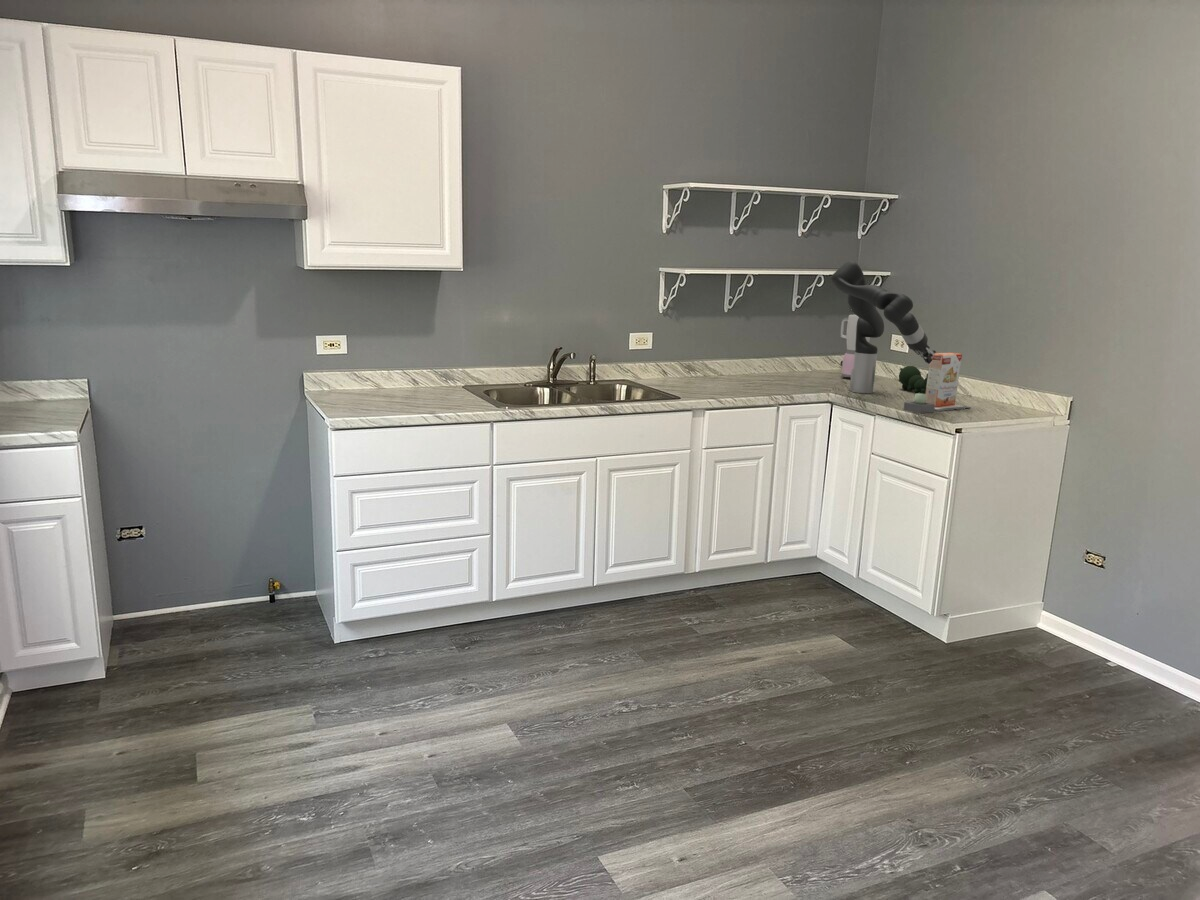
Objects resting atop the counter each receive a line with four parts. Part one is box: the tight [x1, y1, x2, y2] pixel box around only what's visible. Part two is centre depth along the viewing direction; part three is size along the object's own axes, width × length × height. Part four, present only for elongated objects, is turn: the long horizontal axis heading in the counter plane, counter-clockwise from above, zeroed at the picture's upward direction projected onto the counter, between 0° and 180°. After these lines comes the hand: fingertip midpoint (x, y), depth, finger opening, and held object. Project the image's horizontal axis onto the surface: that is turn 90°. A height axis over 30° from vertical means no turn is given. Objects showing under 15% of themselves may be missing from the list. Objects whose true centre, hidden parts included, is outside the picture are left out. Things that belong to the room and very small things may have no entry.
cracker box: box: [924, 352, 963, 407], centre depth 345 cm, size 14×6×21 cm, turn 128°
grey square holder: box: [903, 400, 935, 414], centre depth 336 cm, size 8×8×3 cm
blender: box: [839, 314, 871, 379], centre depth 421 cm, size 16×12×32 cm
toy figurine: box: [898, 365, 929, 394], centre depth 384 cm, size 9×19×25 cm
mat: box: [934, 403, 971, 412], centre depth 347 cm, size 14×20×1 cm
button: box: [913, 392, 926, 405], centre depth 335 cm, size 4×4×4 cm
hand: (929, 361), depth 336 cm, fingers closed
